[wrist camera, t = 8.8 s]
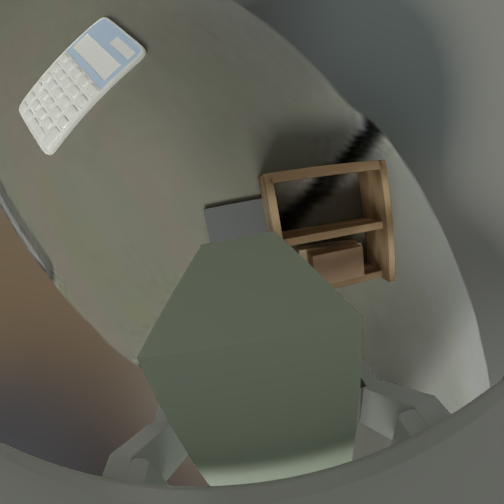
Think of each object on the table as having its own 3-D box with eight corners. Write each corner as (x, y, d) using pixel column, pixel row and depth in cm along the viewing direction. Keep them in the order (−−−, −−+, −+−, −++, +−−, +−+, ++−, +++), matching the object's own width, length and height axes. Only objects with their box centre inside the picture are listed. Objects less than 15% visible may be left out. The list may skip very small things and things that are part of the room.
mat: (278, 292, 35) (279, 293, 34) (224, 302, 34) (224, 304, 34) (262, 198, 32) (263, 198, 31) (204, 209, 32) (203, 209, 31)
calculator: (22, 110, 26) (15, 108, 25) (107, 18, 25) (103, 13, 23) (52, 158, 29) (45, 157, 27) (151, 55, 27) (147, 49, 25)
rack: (372, 267, 35) (395, 280, 29) (277, 288, 34) (285, 307, 29) (361, 164, 32) (384, 159, 26) (258, 177, 31) (263, 174, 26)
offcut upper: (355, 269, 32) (364, 275, 29) (310, 280, 32) (316, 287, 29) (353, 242, 31) (362, 246, 29) (306, 251, 31) (312, 256, 28)
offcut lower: (352, 264, 35) (361, 270, 32) (295, 272, 34) (300, 279, 32) (351, 238, 34) (361, 242, 31) (293, 245, 34) (298, 250, 31)
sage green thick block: (274, 230, 17) (362, 316, 5) (293, 354, 19) (344, 497, 7) (201, 244, 16) (137, 357, 5) (231, 365, 18) (234, 517, 7)
